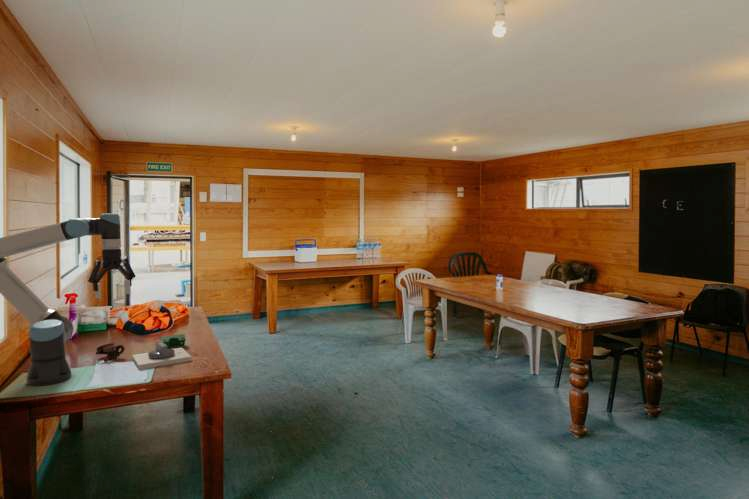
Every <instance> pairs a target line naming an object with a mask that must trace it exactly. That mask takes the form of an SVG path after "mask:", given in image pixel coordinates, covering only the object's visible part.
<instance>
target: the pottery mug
mask: <svg viewBox="0 0 749 499" xmlns="http://www.w3.org/2000/svg"><path fill="white" fill-rule="evenodd" d="M125 349H126V348H125V347H124V345H122V344H119V345H115V344H114V343H112V342H111V343H106V344H103V345H100V346H98V347H97V348H96V351H95V352H96V353H95V356H97V355H106V356H104V357H102V360H103V361H104V362H103V363H107V362H109V361H110V362H111V361H115V360H118V357H120V356H121V355H122V354H124V352H125ZM119 350H120V351H119Z"/></svg>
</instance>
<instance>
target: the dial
mask: <svg viewBox="0 0 749 499" xmlns="http://www.w3.org/2000/svg"><path fill="white" fill-rule="evenodd" d="M154 344H155V346H154V347H155V348H154V350H150V351H149V352H147V353H148V357H149V358H151V359H163V358H168V357H171V356H173V355H174V350H173V349H174V348H169V349H168V348H167V345H166V344H164V343H163V342H162V341H161V339H160V340H155V341H154Z"/></svg>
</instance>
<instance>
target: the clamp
mask: <svg viewBox="0 0 749 499" xmlns="http://www.w3.org/2000/svg"><path fill="white" fill-rule="evenodd" d="M160 341H162V342H163V343H164V344H166V345H167V349H170V348H174V347H177V348H181V347H183V346H185V344H186V341H187V340H186V336H185V333H180V334H179V333H178V334H173V335H163V336H160Z"/></svg>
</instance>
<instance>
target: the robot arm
mask: <svg viewBox="0 0 749 499" xmlns="http://www.w3.org/2000/svg"><path fill="white" fill-rule="evenodd" d="M85 236H101V237H100V238H101V240H100V241H101V248H102V249H101V258H102V260H95V261H94V266H93V269H92V271H91V273H90V276H89V277H88V280H87V282H88V283H89V284H92V286H93V287H92V288H93V289H92V290H93V292H94V295H95V299H101V298H102V297H101V295H102V293H101V283H100V281H101V279H102V278H103V277H104V276H105V275H106V273H107V272H108V271H111V270H118V271H119V272H120V274H122V276H123V277H124V278H125V279H124V294H125V295H131V287H132V285H133V284H132V280H134V279H135V278H136V275H135V272H134V271H133V269H132V267H131V265H130V263H129V258H125V257H122V249H121V248H122V240H121V238H122V235H121V217H120V214H118V213H101V214H100V217H96V218H95V217H92V218H91V217H73V218H69V219H68V220H65V221H62V222H58V223H54V224H50V225H46V226H42V227H38V228H34V229H29V230H26V231H23V232H18V233H15V234H11V235H7V236H3V237H0V294H1V295H2V296H3V298H4V299H6V301H8V303H9V304H10V305H12V306H13V308H15V309H16V311H18V312H19V314H21V316H23V318H24V319H26V320H27V322H28V323H29V331H28V337H29V354H30V365H29V367H28V368H29V369H28V371H27V374H26V384H27V385H29V386H35V387H36V386H37V387H38V386H48V385H53V384H59V383H61V382H64V381H67V380H69V379H70V378H71V377H72V369H71V367H70V365H69V363H68V360H67V358H66V345H65V344H66V342H68V341H69V340H70V339H71V337H72V335H73V333H74V325H73V322H72V321H71V320H70V319H69V318H68V317H66V316H63V315H62V314H60V313H59V312H58V311H57V310H56V309H51V308H49V307H48V306H47V305H46V304H45V303H44V302H43V301H42V300H41V299H40V297H38V296H37V294H35V293H34V292H33V290H31V289H30V288H29V287H28V286H27V285H26V283H24V281H22V279H21V278H19V277H18V276H17V275H16V273H15V272H13V270H12V269H11V268H10V267H9V266H8V259H7V257H11V256H14V255H19V254H22V253H25V252H29V251H32V250H36V249H41V248H44V247H47V246H51V245H56V244H59V243H63V242H66V241H69V240H73V239H78V238H79V239H80V238H83V237H85ZM4 257H5V258H4ZM121 264H122V265H121ZM101 266H102V267H101ZM124 268H125V269H124Z"/></svg>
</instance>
